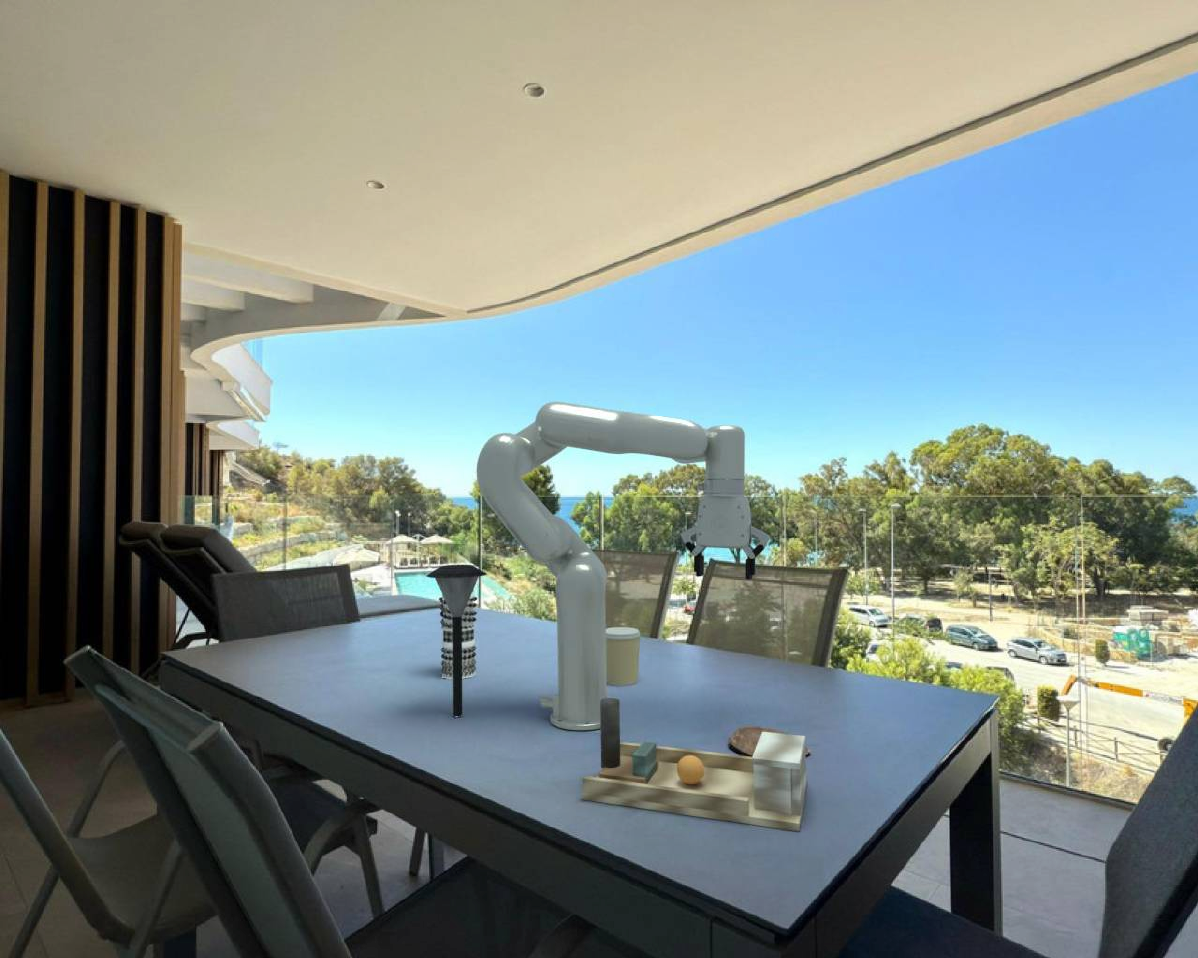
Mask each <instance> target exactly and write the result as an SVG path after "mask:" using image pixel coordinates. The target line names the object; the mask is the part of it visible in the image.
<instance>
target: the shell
mask: <svg viewBox="0 0 1198 958" xmlns="http://www.w3.org/2000/svg"><path fill="white" fill-rule="evenodd" d="M762 732H770V733H780V734H788V733H787V732H783V731H781V730H778V729H775V728H771V727H770V728H769V727H760V726H757V725H750V724H749V725H744V726H741V727H738V729H737V730H735V731H734V732H733V734H731V736H729V737H728V747H729V749H732V750H733V752H735V753H738V754H740V755H741V756H749V757H753V754H754V752H755V749H756V746H757V744H758V741H759V739H760V736H761V733H762ZM811 752H812V751H811V749H810V748H807V747H806V746H805V758H806V757H808V755H809V754H810V753H811Z"/></svg>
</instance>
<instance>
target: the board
mask: <svg viewBox="0 0 1198 958" xmlns="http://www.w3.org/2000/svg"><path fill="white" fill-rule="evenodd" d="M641 744H642V743H636V742H635V743H633V742H626V741H625V742H624V741H620V755H621V756H629V757H632V755H633V754H634V752H635V751H636V750H637V749H638V748H639V747H640V745H641ZM805 747H806V736H805V735H797V734H788V733H787V734H780V733H770V732H762V733H761V736H760V739H759V741H758V744H757V746H756V749H755V752H754V754H753V757H749V756H743V755H741V754H740V755H739V754H731V753H730V754H729V753H723V752H721V753H720V752H713V751H706V750H705V751H704V750H696V749H685V748H680V747H679V748H678V747H671V746H670V747H669V746H661V745H656V749H657V760H658V766H659V767H658V768H657V769H656V771H655V772H654V773H653V775H652V776H651V778H650V779H649V780H648V782H647V783H646V784H642V783H635V782H628V781H620V780H613V779H605V778H599V774H598V775H597V776H590V775H584V776H583V777H582V779H581V781H582V800H583V801H584V800H585V801H590V802H597V803H598V802H599V803H603V804H612V805H618V806H622V807H623V806H624V807H631V808H637V809H638V808H639V809H645V810H652V811H656V812H657V811H658V812H663V813H664V812H665V813H671V814H677V815H678V814H679V815H685V816H691V817H692V816H693V817H699V818H706V819H711V820H712V819H713V820H719V821H727V822H732V823H738V824H739V823H740V824H745V825H753V826H759V827H766V828H772V829H779V830H780V829H781V830H787V831H793V832H800V831H801V830H800V829H801V823H802V819H803V818H802V817H803V811H804V805H805V800H806V793H807V787H808V776H807V767H806V765H807V764H806V757H805ZM687 755H693V756H696V757H697V758H699V759H700V760H701V762H702V764H703V766H704V775H703V777H702V779H701V780H700V781H699V782H698V783H696V784H692V785H690V784H686V783H684V782H683V781H682V780H681V779H680V778H679V776H678V773H677V765H678V762H679V761H680V759H681V758H683V757H684V756H687Z"/></svg>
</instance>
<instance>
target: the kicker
mask: <svg viewBox="0 0 1198 958" xmlns="http://www.w3.org/2000/svg"><path fill="white" fill-rule="evenodd" d="M620 703H621V702H620V699H619V698H614V697H607V698H605V699H601V700H600V728H599V729H600V768H601V770H600V772H599V773H598V775H599V778H605V779H613V780H620V781H628V782H635V783H642V784H646V783H647V782H648V780H649V779H650V778H651V776H652V775H653V773H654V772H655V771H656V769H657V768H658V767H659V766H658V760H657V749H656V746H657V742H651V741H645V740H644V741H643V742H642V743H640V744H641V745H640V747H639V748H638V749H637V750H636V751H635V752H634V754H633V755H632V757H629V756H621V755H620V742H621V717H620V715H621V711H620V707H621V706H620V705H621V704H620Z"/></svg>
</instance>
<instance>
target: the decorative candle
mask: <svg viewBox="0 0 1198 958" xmlns="http://www.w3.org/2000/svg"><path fill="white" fill-rule="evenodd" d="M477 600H478V597H476V596H475V591H474V589H473V591H472V594H471V596H470V598H469V601H468V603H467V605H466V608H465V610H464V612H463V615H462V679H463V678H468V677H472V676H474V675H475V674H476V675H477V673H476V670H477V667H476V664H477V660H476V659H475V657H476V656H477V653H476V652H475V650H477V647H476V646H475V645H476V643H475V641H476V639H475V629H476V627H477V625H476V624H474V623H475V622H476V621H477V618H476V617H474V616H476V615H477V614H478V613H477V611H475V609H474V608H476V607H477V606H478V604H477V603H476V602H475V601H477ZM438 601H439V602H440V603H441V604H440V606H439V607H438V609H439V610H440V612H439V615H440V617H441V620H440V625H441V627H440V630H442V641H441V646H442V647H441V649H440V651H441V654H440V655H441V656H440V657H441V659H442V661H441V662H440V666H441V669H440V671H441V673H442V674H441V675H442V677H445V678H449V679H453V627H452V614H451V612H450V610H449V608H448V606H447V603H446V601H445V599H444V597H443V595H442V594H441V597H439V598H438ZM442 677H441V678H442ZM472 678H473V677H472Z"/></svg>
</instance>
